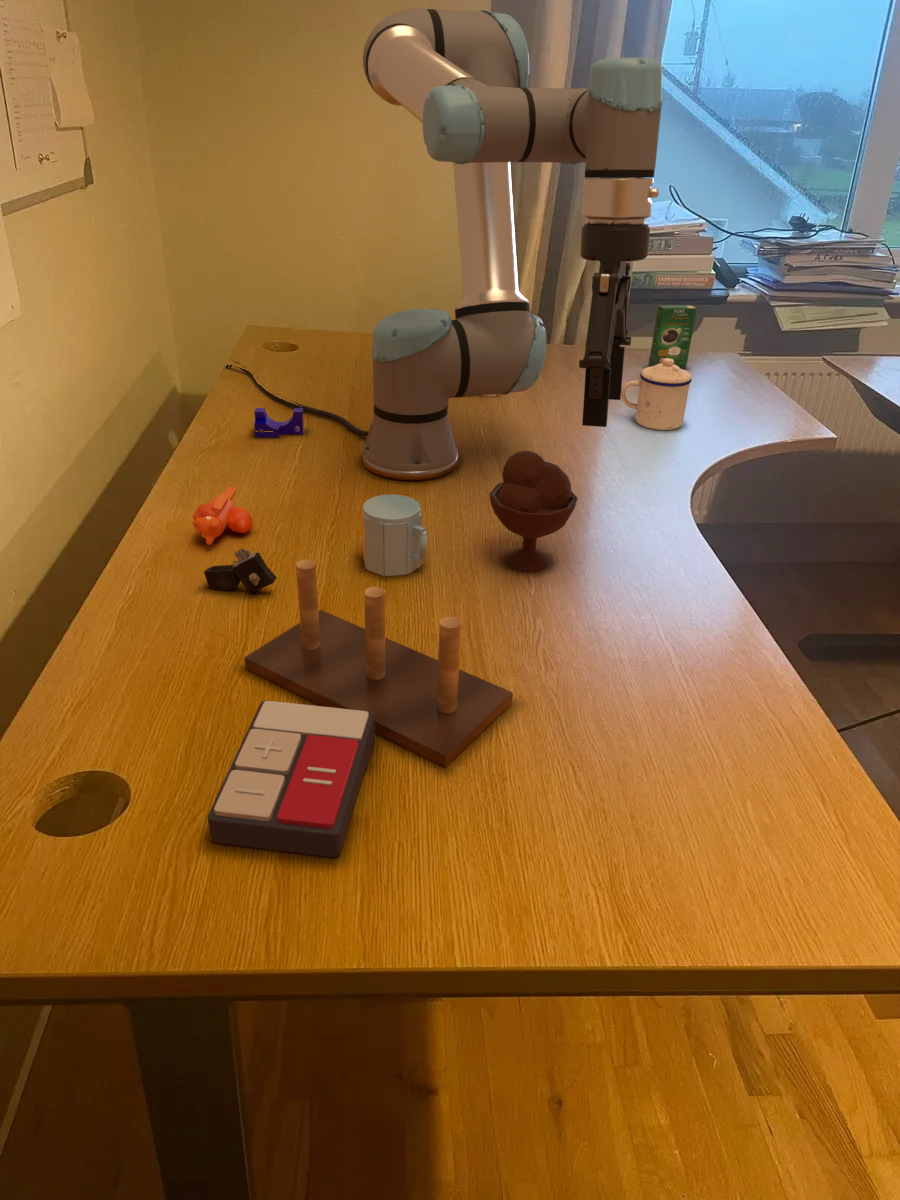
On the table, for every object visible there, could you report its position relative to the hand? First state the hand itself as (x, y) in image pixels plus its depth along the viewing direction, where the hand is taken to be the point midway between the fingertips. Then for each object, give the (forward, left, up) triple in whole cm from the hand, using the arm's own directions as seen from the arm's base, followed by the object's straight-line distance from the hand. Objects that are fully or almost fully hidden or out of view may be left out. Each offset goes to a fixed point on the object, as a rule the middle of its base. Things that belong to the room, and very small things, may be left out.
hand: (602, 411), depth 108 cm
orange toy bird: (-42, -24, -20) cm, 53 cm away
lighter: (-29, -34, -20) cm, 49 cm away
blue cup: (-19, -17, -20) cm, 33 cm away
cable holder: (-62, +7, -20) cm, 66 cm away
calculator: (0, -55, -20) cm, 58 cm away
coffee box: (-25, +88, -20) cm, 94 cm away
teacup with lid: (-14, +54, -20) cm, 60 cm away
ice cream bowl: (-5, -6, -20) cm, 22 cm away
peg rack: (-4, -39, -20) cm, 44 cm away
